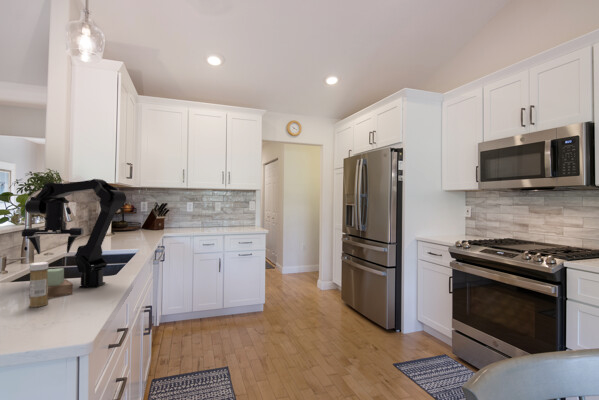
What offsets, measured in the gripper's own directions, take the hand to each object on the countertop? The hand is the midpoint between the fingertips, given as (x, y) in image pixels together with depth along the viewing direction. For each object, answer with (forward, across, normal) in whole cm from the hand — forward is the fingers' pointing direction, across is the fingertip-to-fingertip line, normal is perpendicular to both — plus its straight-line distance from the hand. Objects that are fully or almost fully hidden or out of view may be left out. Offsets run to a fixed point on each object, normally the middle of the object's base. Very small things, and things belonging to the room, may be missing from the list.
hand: (53, 253), depth 122 cm
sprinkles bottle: (+12, -3, +29) cm, 31 cm away
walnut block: (+12, -3, +16) cm, 21 cm away
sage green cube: (+8, -4, +16) cm, 19 cm away
